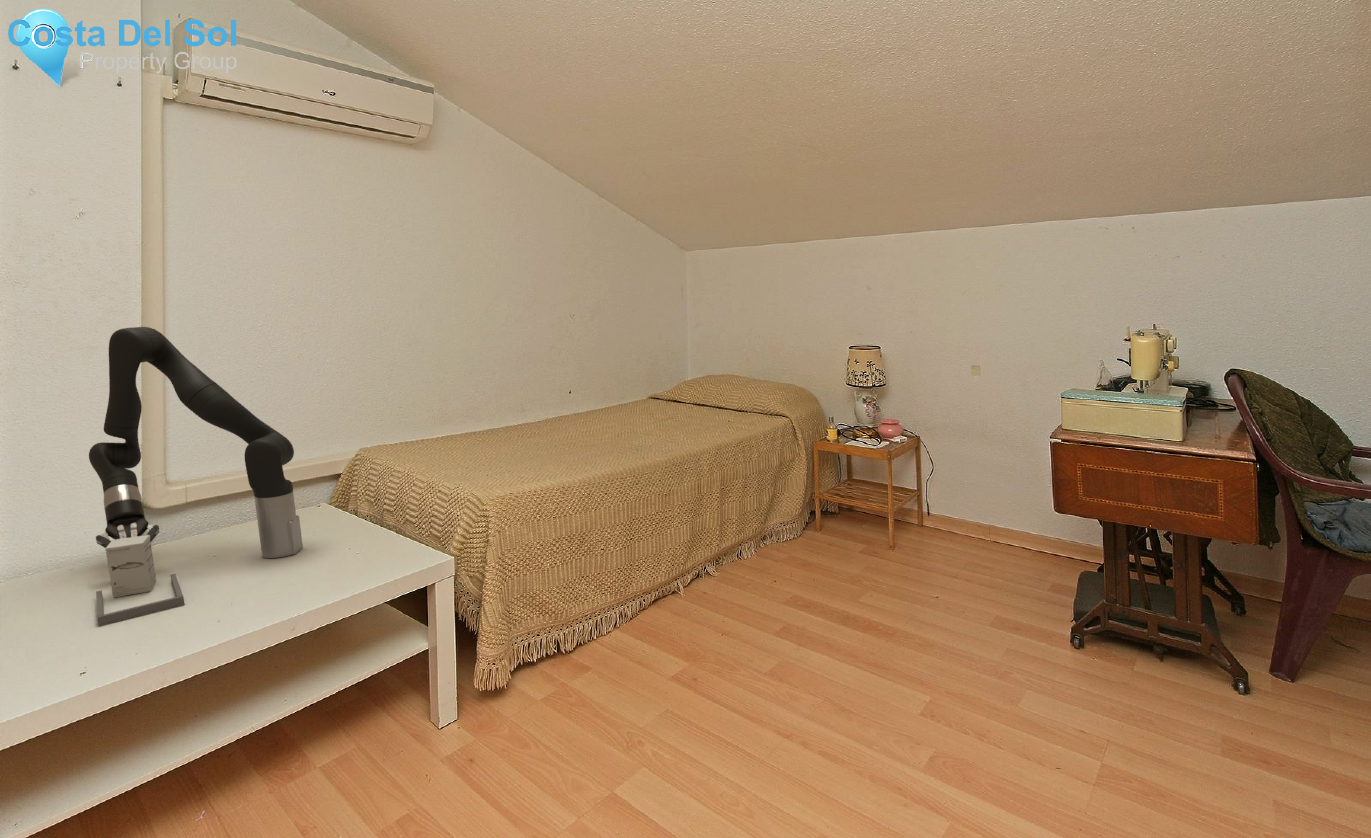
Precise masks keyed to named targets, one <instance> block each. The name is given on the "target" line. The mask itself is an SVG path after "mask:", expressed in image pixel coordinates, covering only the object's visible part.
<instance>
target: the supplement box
mask: <svg viewBox="0 0 1371 838" xmlns="http://www.w3.org/2000/svg"><path fill="white" fill-rule="evenodd" d="M110 541H111V542H110V544H109V545H108V546H107V547H106V548H105V554H106V561H107V566H108V572H109V579H110V584H111V590H112V598H114V599H115V598H117V597H124V596H129V595H135V594H142V593H149V592H151V591H152V590H153V587H155V585H156V583H157V578H156V570H155V562H154V556H153V551H152V550H153V549H152V542H151V541H150V535H147V534H146V535H142V536H137V537H130V538H122V539H115V540H114V539H113V540H110Z"/></svg>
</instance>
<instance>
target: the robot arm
mask: <svg viewBox="0 0 1371 838" xmlns="http://www.w3.org/2000/svg"><path fill="white" fill-rule="evenodd" d="M141 363H149V364H150V365H152V366H153V367H155V368H156V370H159V372H161V373H162V374H164V375H165V376H166V377H167V379H168V380H169V381H170V383H171V384H172V387H173V389H174V391H175V393H176V396H177V398H178V399H179V401H180V402H181V403H182V404H183V406H185V407H186V408H187V409H188V410H190V411H191V412H192V413H193V414H195V416H198V418H200V419H201V420H203V421H204V422H206V423H208V424H211V425H212V426H215V427H217V428H219V429H221V430H223V431H226V432H228V433H230V434H233V435H235V436H237V437H238V438H241V440H242V441H244V442H245V443H247V446H246V448H245V449H244V465H245V470H246V475H247V480H248V485H249V487H250V489H251V490H252V492H253V497H254V505H255V512H256V520H257V521H256V522H257V528H258V536H259V543H260V544H259V545H260V551H261V555H262V557H263V558H265V559H278V558H279V559H280V558H283V557H287V556H293V555H296V554H298V553H299V551H301V549H303V547H304V546H303V536H302V528H301V519H300V515H299V514H298V515H297V512H296V503H295V496H294V487H293V482H292V481H291V480H289V479H286V477H285V475H284V468H283V466H284V465H287V464H288V463H290V462H291V461H292V460H293V458H294V456H295V450H294V446H293V444H292V442H291V441H290V440H289V439H288V438H287V437H285V436H284V435H283V434H282V433H280V432H279V431H277V430H275V429H274V428H273V427H271V426H270V425H268V424H267V423H266V422H264V421H263V420H261V419H260V418H258V417H257V416H256V415H255V414H254V413H252V412H251V410H250V409H248V408H246V407H245V406H244V405H243V404H241V403H240V402H239V401H238V400H237V399H235V398H234V396H232V395H231V394H230V393H229V392H228V391H226V390H225V389H224V388H223V387H222V386H221V385H219V384H218V383H217V382H216V381H214V380H213V379H211V378H210V377H209V376H208V375H207V374H206V373H205V372H203V371H202V370H201V369H200V368H199V367H197V366H196V365H195V364H194V363H192V362H191V361H190V360H189V359H188V358H187V357H185V356H184V354H182V353H181V352H180V350H179V349H178V348H176V346H175V345H174V344H173V343H172V342H171V341H170V340H169V339H168V337H166V336H165V335H164V334H163V333H161V332H160V331H158V330H157V329H155V328H153V327H148V326H137V327H135V326H134V327H125V328H124V327H123V328H119V329H117V330H116V331H114V332H113V333H112V334H111V336H110V337H109V342H108V377H109V378H108V379H109V381H108V382H109V383H108V386H109V387H108V388H109V391H108V392H109V393H108V400H107V401H108V402H107V407H106V408H107V409H106V414H105V418H104V423H103V432H104V433H105V434H106V435H107V436H109V437H114V438H119V439H123V440H125V441H124V442H105V441H104V442H97V443H95V444H93V445H92V446H91V447H90V449H89V452H88V459H89V462H90V464H91V466H92V468H93V470H94V472H96V474H97V476H98V478H99V479H100V481H101V486H102V491H103V505H104V506H103V509H104V513H105V521H106V527H105V528H104V529H105V532H104V533H101V534H98V535H96V536H95V540H96V544H97V545H99V546H101V547H103V548H105V549H106V547H107V546H108V545H109V544H110V542H111V541H112V540H110V538H112V539H113V540H115V539H122V538H130V537H137V536H144V534H145V533H146V531H147V533H146V535H150V541H151V543H152V542H153V541H154V540H155V538H156V537H157V535H158V534H159V533H160V526H159V524H154V525H152V524H150V523H149V521H148V520H147V519H146V516H145V510H144V505H143V500H142V495H141V492H140V489H139V484H138V478H137V475H136V473H135V471H133V470H131V469H133V468H135V467H137V466H138V465H139V464H140V462H141V459H142V453H141V452H142V451H141V449H140V448H141V447H140V444H139V427H140V421H141V416H142V409H143V408H142V407H143V406H142V400H141V396H140V394H139V391H138V387H137V373H138V370H139V368H140V365H141Z"/></svg>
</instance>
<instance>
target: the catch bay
mask: <svg viewBox="0 0 1371 838" xmlns="http://www.w3.org/2000/svg"><path fill="white" fill-rule="evenodd" d="M170 581H171V585H172V589H173V591H174V594H175V596H174V597H170V598H165V599H163V600H158V601H154V602H150V603H145V604H142V605H141V604H140V605H138V606H133V607H128V608H125V609H121V610H116V611H112V612H109V613H105V610H104V609H105V608H104V607H105V606H104V605H105V604H104V597H103V591H102V590H96V592H95V596H96V597H95V598H96V599H95V601H96V621H97V625H98V627H101V626H105V625H109V624H114V623H117V622H122V621H125V620H129V619H134V618H139V617H141V616H145V614H146V615H150V614H153V613H157V611H158V612H161V611H165V610H170V609H174V608H177V607H181V606H185V598H184V594H183V592H182V589H181V586H180V583H179V580H178V577H177V575H176V573H173V574H170Z"/></svg>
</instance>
